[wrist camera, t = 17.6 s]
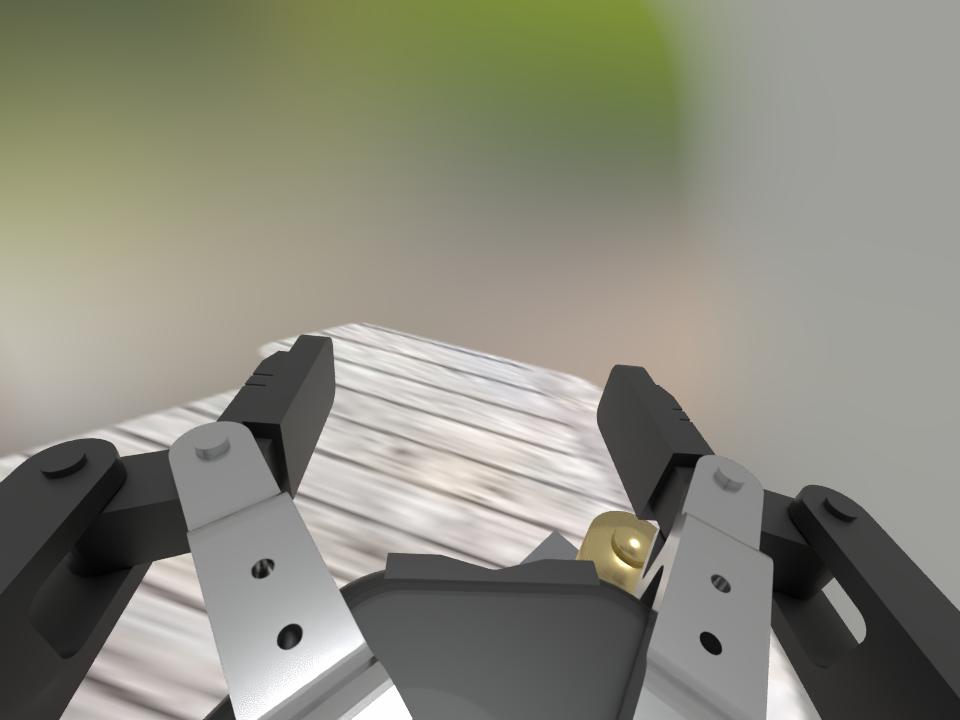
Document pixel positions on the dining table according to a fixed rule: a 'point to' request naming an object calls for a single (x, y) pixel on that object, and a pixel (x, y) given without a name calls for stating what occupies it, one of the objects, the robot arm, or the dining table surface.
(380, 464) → the dining table surface
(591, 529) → the brass weight
